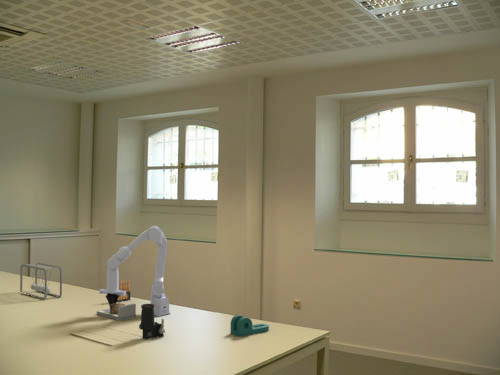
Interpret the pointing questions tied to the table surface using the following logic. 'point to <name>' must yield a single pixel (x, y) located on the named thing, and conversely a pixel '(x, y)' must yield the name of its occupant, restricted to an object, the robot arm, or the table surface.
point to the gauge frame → (120, 312)
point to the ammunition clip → (124, 288)
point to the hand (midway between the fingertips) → (112, 308)
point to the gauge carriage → (115, 308)
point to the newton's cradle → (41, 288)
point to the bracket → (246, 326)
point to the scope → (150, 323)
